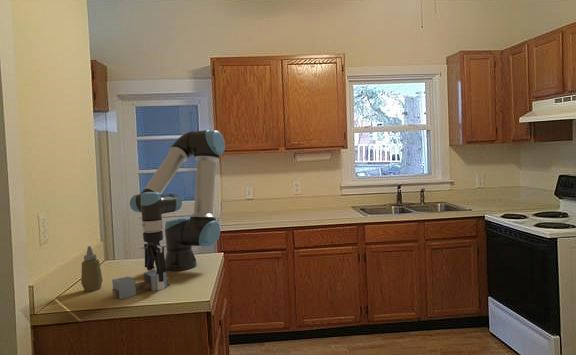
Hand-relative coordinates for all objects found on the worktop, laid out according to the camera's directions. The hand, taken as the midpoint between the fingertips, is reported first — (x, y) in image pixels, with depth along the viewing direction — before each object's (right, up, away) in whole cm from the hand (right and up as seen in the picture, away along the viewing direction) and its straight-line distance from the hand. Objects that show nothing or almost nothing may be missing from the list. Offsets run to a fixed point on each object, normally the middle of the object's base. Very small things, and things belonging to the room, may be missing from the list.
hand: (156, 287), depth 183 cm
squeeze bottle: (-27, -2, +3) cm, 27 cm away
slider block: (-10, -1, -8) cm, 13 cm away
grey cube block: (0, 0, 0) cm, 0 cm away
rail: (-4, -1, -4) cm, 6 cm away
